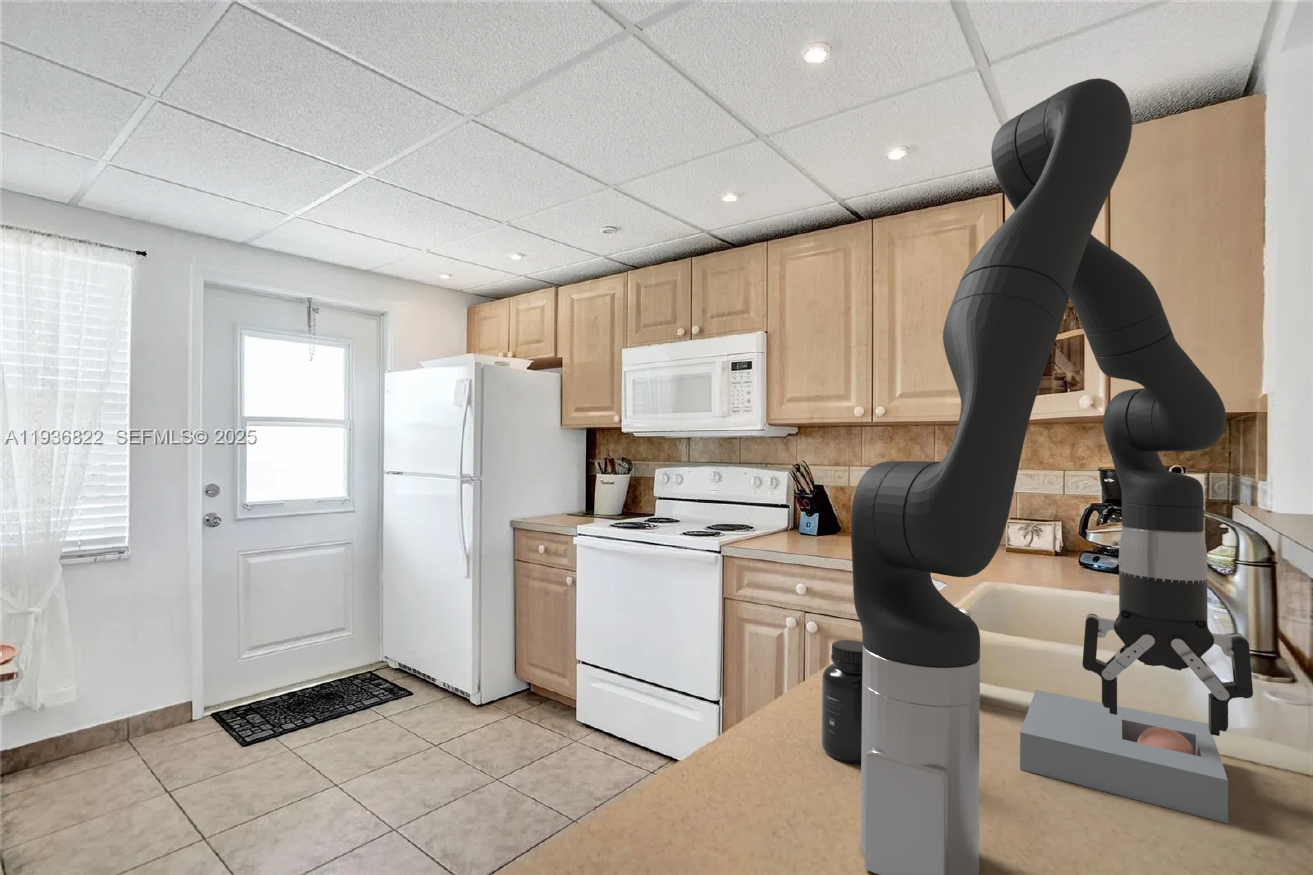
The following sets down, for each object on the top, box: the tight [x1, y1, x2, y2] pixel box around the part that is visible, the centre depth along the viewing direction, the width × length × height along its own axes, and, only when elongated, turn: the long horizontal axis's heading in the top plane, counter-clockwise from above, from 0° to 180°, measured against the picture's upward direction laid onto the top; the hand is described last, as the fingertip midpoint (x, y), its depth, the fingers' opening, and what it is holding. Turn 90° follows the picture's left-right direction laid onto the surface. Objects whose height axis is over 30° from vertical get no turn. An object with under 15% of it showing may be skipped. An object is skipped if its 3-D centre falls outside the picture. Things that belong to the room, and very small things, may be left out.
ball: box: [1137, 727, 1195, 755], centre depth 69 cm, size 5×5×5 cm
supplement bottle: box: [821, 639, 863, 765], centre depth 74 cm, size 7×7×12 cm
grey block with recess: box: [1019, 689, 1229, 824], centre depth 72 cm, size 16×17×4 cm
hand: (1162, 722), depth 70 cm, fingers open, 8 cm apart
